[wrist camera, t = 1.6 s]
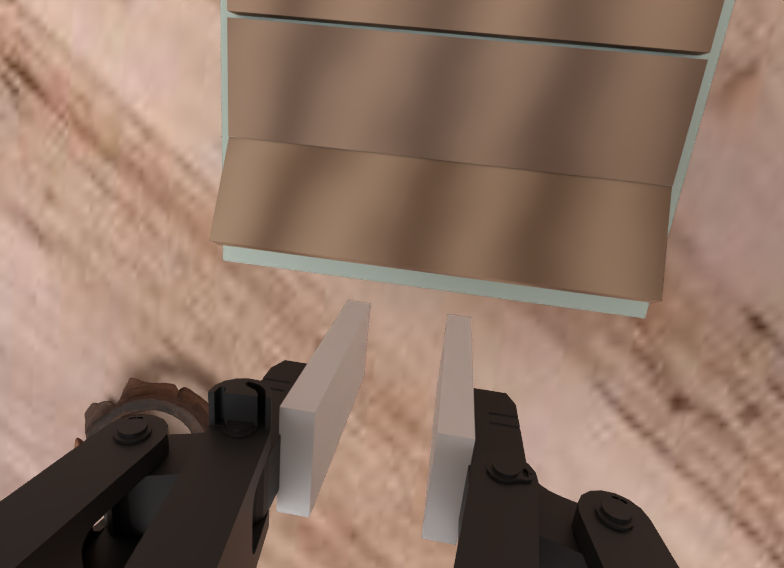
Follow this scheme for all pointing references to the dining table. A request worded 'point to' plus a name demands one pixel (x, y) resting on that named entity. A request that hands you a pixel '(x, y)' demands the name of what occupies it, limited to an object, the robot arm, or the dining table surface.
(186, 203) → the dining table surface
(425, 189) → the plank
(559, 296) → the underlay mat
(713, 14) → the laid strip
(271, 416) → the robot arm
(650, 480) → the dining table surface
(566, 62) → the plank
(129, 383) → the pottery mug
